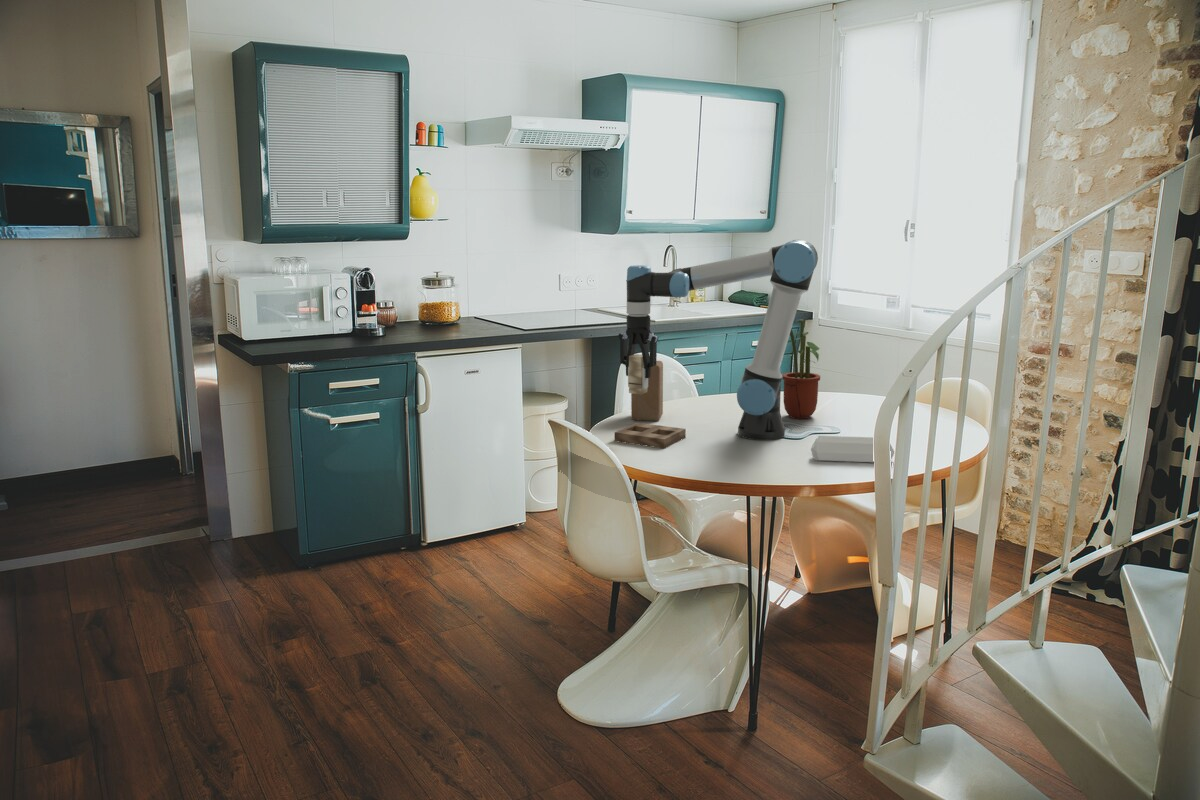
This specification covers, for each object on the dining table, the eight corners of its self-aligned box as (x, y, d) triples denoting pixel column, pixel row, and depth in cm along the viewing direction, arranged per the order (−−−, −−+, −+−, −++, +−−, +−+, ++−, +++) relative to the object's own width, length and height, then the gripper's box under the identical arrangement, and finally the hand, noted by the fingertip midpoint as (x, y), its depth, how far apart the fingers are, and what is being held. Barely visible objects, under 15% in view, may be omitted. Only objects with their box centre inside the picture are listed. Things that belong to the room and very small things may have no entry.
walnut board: (685, 437, 303) (685, 428, 302) (664, 448, 290) (664, 439, 290) (636, 431, 312) (636, 422, 311) (614, 441, 299) (614, 432, 299)
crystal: (891, 443, 279) (810, 441, 283) (895, 437, 272) (811, 434, 276) (892, 468, 277) (809, 465, 280) (896, 462, 270) (811, 459, 274)
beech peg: (647, 391, 301) (647, 355, 298) (640, 394, 297) (641, 357, 295) (635, 390, 303) (635, 354, 301) (628, 393, 300) (628, 356, 297)
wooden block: (659, 421, 325) (659, 365, 320) (630, 420, 326) (630, 364, 322) (663, 415, 334) (663, 360, 330) (635, 414, 336) (635, 359, 332)
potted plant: (816, 422, 321) (820, 321, 314) (771, 419, 326) (774, 320, 319) (821, 411, 337) (825, 315, 330) (778, 408, 342) (781, 313, 335)
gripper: (668, 315, 293) (667, 387, 299) (620, 311, 302) (620, 382, 307) (657, 317, 287) (656, 391, 292) (608, 314, 296) (608, 386, 301)
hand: (638, 386), depth 300 cm, fingers closed on beech peg, 4 cm apart
